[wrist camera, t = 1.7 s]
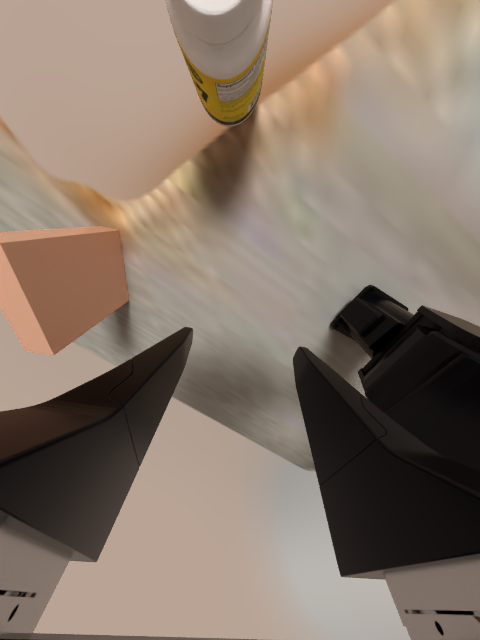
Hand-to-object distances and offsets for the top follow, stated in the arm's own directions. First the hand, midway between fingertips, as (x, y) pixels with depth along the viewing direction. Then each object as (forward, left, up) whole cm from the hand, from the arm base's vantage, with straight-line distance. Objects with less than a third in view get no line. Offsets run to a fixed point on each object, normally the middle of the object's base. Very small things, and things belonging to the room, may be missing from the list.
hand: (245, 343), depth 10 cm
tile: (+13, +6, -12) cm, 19 cm away
